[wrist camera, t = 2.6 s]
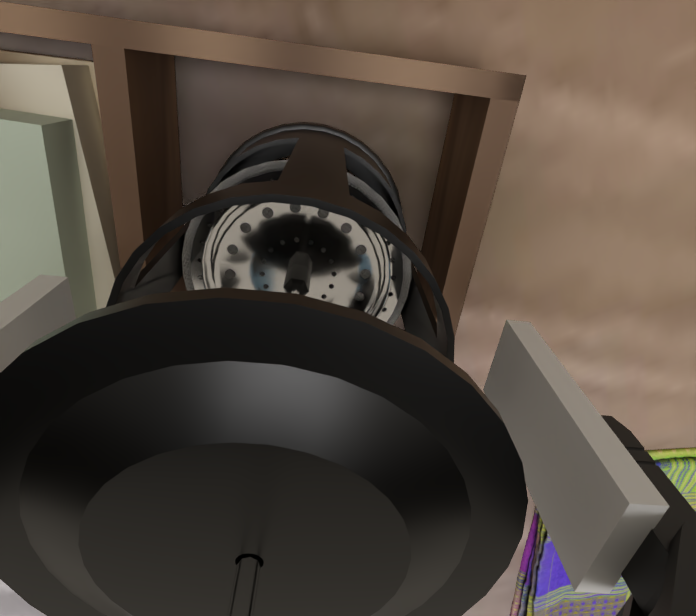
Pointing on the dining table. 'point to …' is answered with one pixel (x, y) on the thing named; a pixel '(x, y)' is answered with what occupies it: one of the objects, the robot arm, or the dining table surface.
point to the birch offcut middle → (81, 106)
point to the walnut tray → (166, 41)
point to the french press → (260, 416)
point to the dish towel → (549, 574)
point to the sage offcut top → (42, 207)
